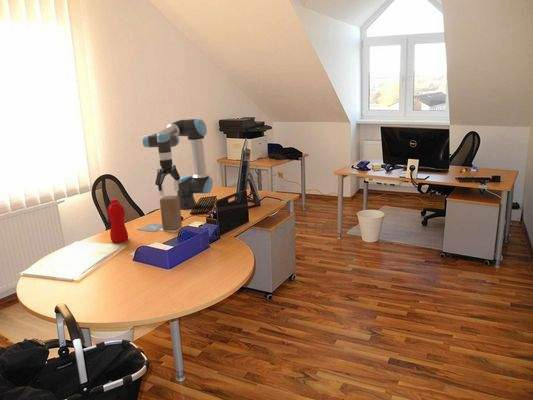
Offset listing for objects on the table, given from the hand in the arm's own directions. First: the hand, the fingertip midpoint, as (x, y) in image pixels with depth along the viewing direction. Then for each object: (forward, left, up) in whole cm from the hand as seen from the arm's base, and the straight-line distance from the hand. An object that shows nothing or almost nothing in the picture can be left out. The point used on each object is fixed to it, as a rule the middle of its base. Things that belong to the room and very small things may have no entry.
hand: (169, 193), depth 275 cm
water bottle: (+29, -14, -23) cm, 40 cm away
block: (0, 0, -23) cm, 23 cm away
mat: (0, 0, -23) cm, 23 cm away
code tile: (+3, -13, -23) cm, 27 cm away
